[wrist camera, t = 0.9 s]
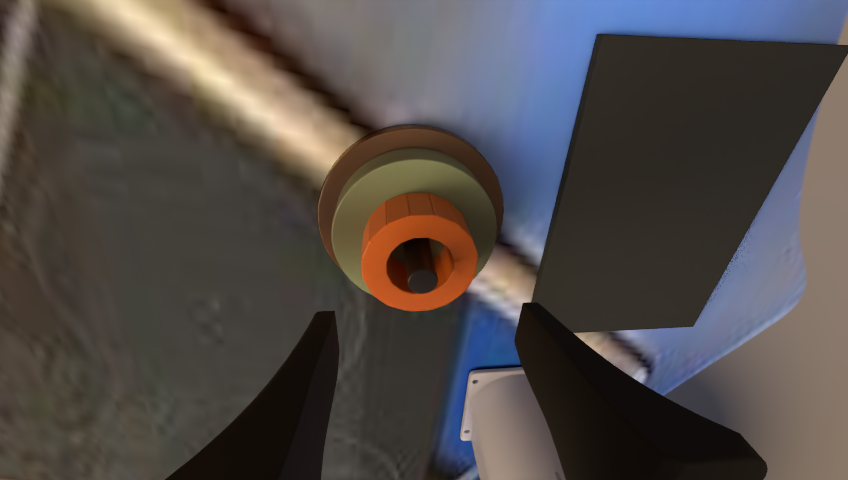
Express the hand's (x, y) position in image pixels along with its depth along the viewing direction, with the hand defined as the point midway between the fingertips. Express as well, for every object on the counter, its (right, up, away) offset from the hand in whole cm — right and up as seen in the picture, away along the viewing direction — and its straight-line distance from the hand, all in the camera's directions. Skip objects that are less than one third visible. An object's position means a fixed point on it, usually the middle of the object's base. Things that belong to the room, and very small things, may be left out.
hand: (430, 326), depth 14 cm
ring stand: (-1, +5, +8) cm, 9 cm away
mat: (+15, +5, +10) cm, 19 cm away
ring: (-1, +3, +6) cm, 7 cm away
